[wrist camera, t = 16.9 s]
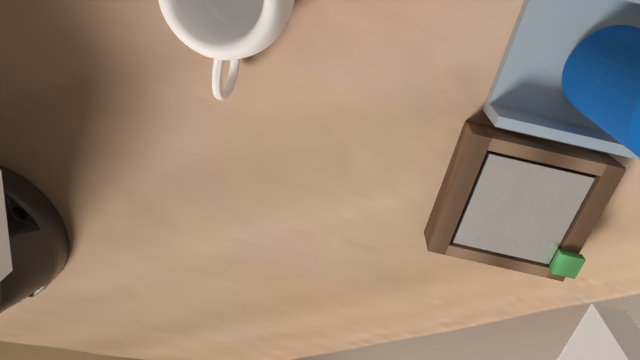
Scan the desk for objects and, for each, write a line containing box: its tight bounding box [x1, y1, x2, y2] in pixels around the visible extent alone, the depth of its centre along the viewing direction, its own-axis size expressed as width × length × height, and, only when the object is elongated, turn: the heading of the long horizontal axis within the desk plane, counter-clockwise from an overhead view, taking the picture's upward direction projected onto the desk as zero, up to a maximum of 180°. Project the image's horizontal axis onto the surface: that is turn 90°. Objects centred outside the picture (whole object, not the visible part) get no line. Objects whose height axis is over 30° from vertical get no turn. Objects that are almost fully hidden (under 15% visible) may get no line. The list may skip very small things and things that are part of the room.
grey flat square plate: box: [452, 150, 595, 264], centre depth 38 cm, size 8×8×1 cm
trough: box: [483, 0, 640, 160], centre depth 33 cm, size 14×11×4 cm
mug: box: [158, 0, 295, 100], centre depth 32 cm, size 12×8×8 cm
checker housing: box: [424, 121, 626, 281], centre depth 39 cm, size 12×11×4 cm
